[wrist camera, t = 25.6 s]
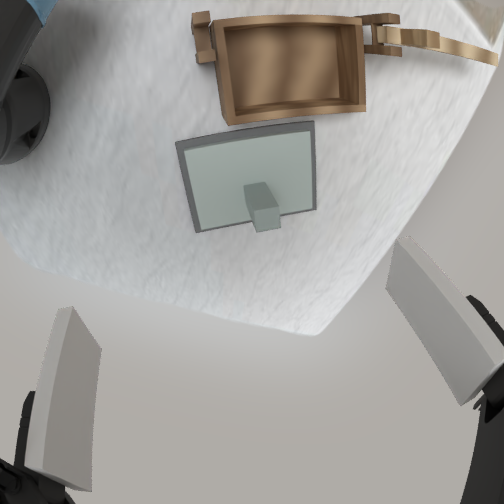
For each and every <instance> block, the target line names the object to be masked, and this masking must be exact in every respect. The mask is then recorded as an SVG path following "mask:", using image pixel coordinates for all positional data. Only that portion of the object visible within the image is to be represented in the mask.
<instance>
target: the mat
mask: <svg viewBox="0 0 504 504" xmlns="http://www.w3.org/2000/svg"><path fill="white" fill-rule="evenodd" d="M305 129H308V130H309V131H310V139H311V165H312V209H307V210H302V211H296V212H291V213H285V214H280V216H285V215H290V214H296V213H301V212H307V211H312V210H316V155H315V128H314V121H303V122H293V123H285V124H276V125H269V126H261V127H254V128H248V129H241V130H235V131H229V132H223V133H218V134H212V135H207V136H202V137H197V138H192V139H187V140H182V141H178V142H175V145H176V149H177V154H178V159H179V163H180V168H181V172H182V177H183V181H184V185H185V190H186V194H187V198H188V203H189V207H190V211H191V215H192V219H193V223H194V228H195V232H196V233H199V232H204V231H209V230H214V229H219V228H224V227H229V226H234V225H239V224H244V223H249V222H252V220H249V221H244V222H239V223H234V224H229V225H224V226H219V227H214V228H209V229H204V230H201V226H200V222H199V217H198V213H197V209H196V204H195V200H194V195H193V191H192V186H191V182H190V177H189V172H188V168H187V163H186V158H185V153H184V149H186V148H191V147H196V146H201V145H206V144H211V143H216V142H222V141H227V140H233V139H239V138H245V137H252V136H258V135H265V134H272V133H280V132H288V131H296V130H305Z"/></svg>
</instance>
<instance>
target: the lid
mask: <svg viewBox="0 0 504 504" xmlns="http://www.w3.org/2000/svg"><path fill="white" fill-rule="evenodd" d="M184 153H185V158H186V163H187V168H188V172H189V177H190V182H191V186H192V191H193V195H194V200H195V204H196V209H197V213H198V217H199V222H200V226H201V230H204V229H209V228H214V227H219V226H224V225H229V224H234V223H239V222H244V221H249V220H252V222H253V224H254V227H255V229H256V232H263V231H268V230H273V229H278V228H281V223H280V214H285V213H291V212H296V211H302V210H307V209H312V165H311V139H310V131H309V130H308V129H305V130H296V131H288V132H280V133H272V134H265V135H258V136H252V137H245V138H239V139H233V140H227V141H222V142H216V143H211V144H206V145H201V146H196V147H191V148H186V149H184Z"/></svg>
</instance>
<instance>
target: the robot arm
mask: <svg viewBox="0 0 504 504" xmlns="http://www.w3.org/2000/svg"><path fill="white" fill-rule="evenodd" d="M57 1H58V0H0V165H4V164H10V163H14V162H16V161H18V160H20V159H22V158H23V157H24V156H26V155H27V154H28V153H30V152H31V151H32V150H33V149H34V148H35V147H36V146H37V145H38V143H39V142H40V141H41V139H42V137H43V135H44V133H45V131H46V128H47V125H48V121H49V115H50V100H49V94H48V90H47V87H46V85H45V83H44V81H43V79H42V78H41V76H40V75H39V74H38V73H37V72H36V71H35V70H34V69H32V68H31V67H29V66H26V65H23V64H21V63H22V61H23V59H24V57H25V55H26V53H27V52H28V50H29V48H30V46H31V44H32V42H33V41H34V39H35V37H36V36H37V34H38V32H39V30H40V29H41V28H43V27H44V26H45V24H46V19H47V17H48V16H49V14H50V12H51V11H52V9H53V8H54V6H55V4H56V3H57ZM386 290H387V291H388V293H389V294H390V296H391V297H392V298H393V300H394V301H395V303H396V304H397V306H398V307H399V309H400V310H401V312H402V313H403V315H404V316H405V318H406V319H407V320H408V322H409V323H410V325H411V326H412V328H413V330H414V331H415V333H416V334H417V336H418V337H419V339H420V340H421V342H422V343H423V345H424V347H425V348H426V350H427V351H428V353H429V354H430V356H431V357H432V359H433V361H434V362H435V364H436V366H437V367H438V369H439V371H440V372H441V374H442V376H443V377H444V379H445V381H446V382H447V384H448V386H449V387H450V389H451V391H452V393H453V394H454V396H455V398H456V400H457V401H458V403H459V405H460V406H462V405H463V404H465V403H467V402H468V401H470V400H472V399H473V398H475V397H476V395H477V394H478V393H479V392H480V391H481V390H483V392H484V395H483V396H482V397H481V398H480V399H479V400H478V401H477V402H476V403H475V405H474V407H473V409H474V410H475V409H476V408H477V407H478V406H479V405H480V404H481V407H480V408H479V410H480V417H479V424H478V430H477V436H476V442H475V447H474V452H473V457H472V461H471V466H470V470H469V474H468V478H467V482H466V485H465V489H464V492H463V496H462V499H461V502H460V504H504V330H503V329H502V328H501V327H500V325H499V324H498V323H497V322H495V319H494V317H493V316H492V315H491V314H489V311H488V310H487V309H486V308H485V306H484V305H483V304H482V303H481V302H480V301H479V300H477V299H476V298H474V297H473V296H471V295H469V296H467V297H465V296H464V295H463V294H462V292H461V291H460V290H459V289H458V288H457V287H456V285H455V284H454V283H453V282H452V281H451V280H450V278H448V276H447V275H446V274H445V273H444V272H443V271H442V269H441V268H439V266H438V265H437V264H436V263H435V262H434V261H433V260H432V259H431V257H430V256H429V255H428V254H427V253H426V252H425V251H424V250H423V249H422V248H421V247H420V246H419V245H418V244H417V243H416V242H415V241H414V240H413V239H412V238H411V237H410V236H408V237H403V238H399V239H396V240H395V245H394V251H393V256H392V261H391V266H390V271H389V275H388V280H387V284H386ZM101 351H102V349H101V348H100V346H99V344H98V343H97V342H96V340H95V339H94V337H93V336H92V334H91V333H90V331H89V330H88V329H87V327H86V325H85V324H84V322H83V321H82V320H81V318H80V316H79V315H78V313H77V312H76V310H75V309H74V307H73V306H72V307H67V308H61V309H58V311H57V315H56V318H55V321H54V324H53V327H52V330H51V334H50V337H49V341H48V344H47V347H46V351H45V355H44V359H43V363H42V367H41V370H40V375H39V379H38V383H37V388H36V391H30V392H29V394H28V396H27V398H26V399H25V402H24V404H23V409H22V414H21V416H22V418H21V420H20V428H19V431H18V438H17V446H16V454H15V461H14V466H12V465H11V464H9V463H7V462H6V461H4V460H2V459H0V504H75V502H74V501H73V500H72V498H71V497H70V495H68V493H67V492H65V486H66V487H69V488H71V489H73V490H78V491H88V492H92V479H91V477H92V441H93V424H94V410H95V400H96V399H95V398H96V390H97V381H98V372H99V365H100V358H101Z"/></svg>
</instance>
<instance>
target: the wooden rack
mask: <svg viewBox="0 0 504 504" xmlns="http://www.w3.org/2000/svg"><path fill="white" fill-rule="evenodd" d="M210 22H211V20H210V13H209V11H203V12H196V13H192V21H191V29H192V34H194V38H195V45H196V51H197V53H196V55H195V56H196V62H197V63H205V62H211V61H214V64H215V70H216V77H217V84H218V91H219V98H220V104H221V111H222V116H223V118H224V119H225V121H226V123H227V124H228V126H230V125H236V124H242V123H249V122H256V121H263V120H271V119H279V118H287V117H297V116H307V115H319V114H332V113H350V112H366V85H365V59H364V53H370V54H380V55H390V56H399V57H402V47H395V46H384V43H378V38H377V26H382V25H383V24H400V16H399V15H397V14H392V13H382V14H372V15H363V16H355V17H345V16H329V15H265V16H250V17H238V18H229V19H220V20H213V22H212V23H211V25H210V27H208V25H209V23H210ZM365 25H371V31H372V45H364V42H363V29H362V26H365ZM209 29H210V34H209ZM210 36H211V41H210ZM211 43H212V48H211Z"/></svg>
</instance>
